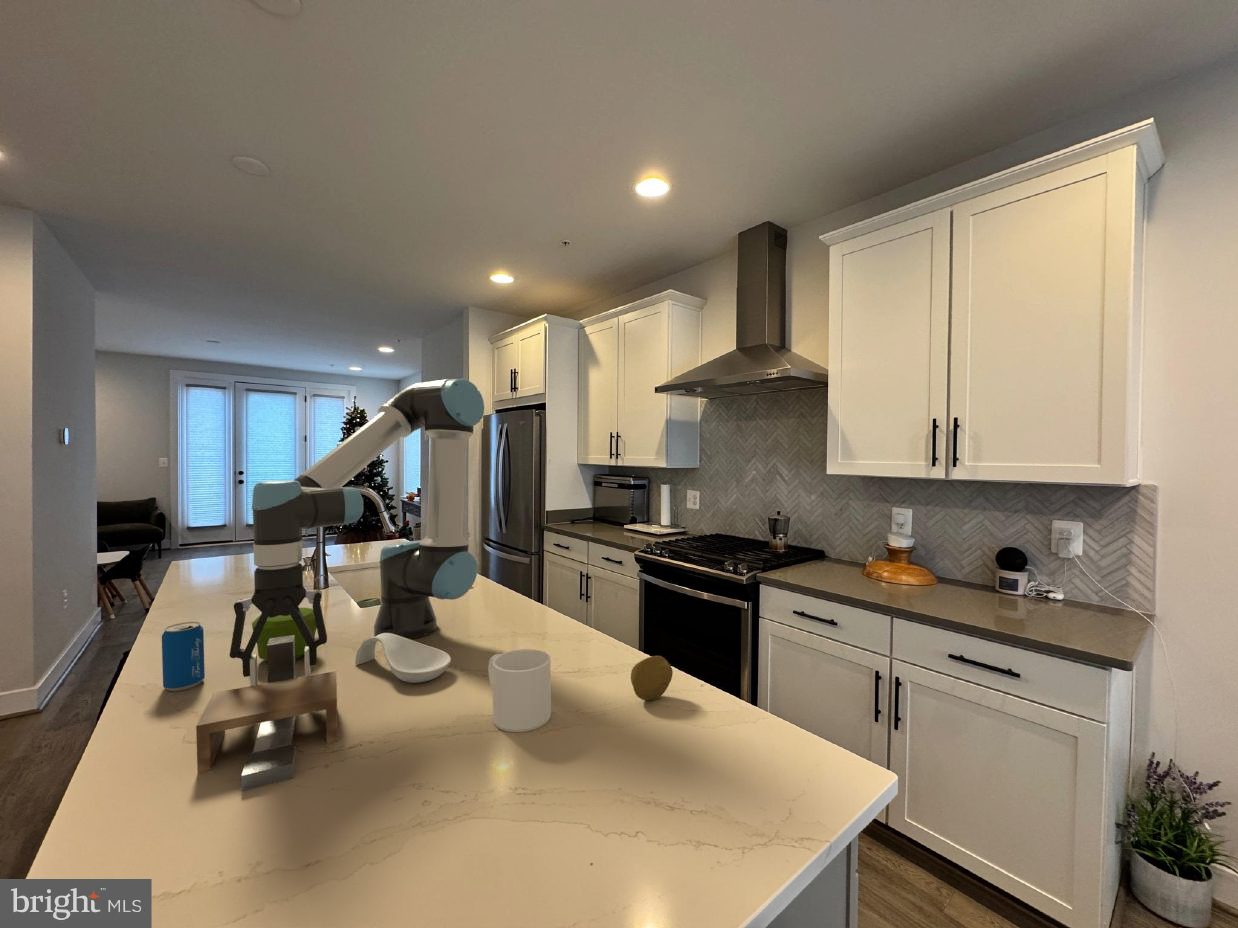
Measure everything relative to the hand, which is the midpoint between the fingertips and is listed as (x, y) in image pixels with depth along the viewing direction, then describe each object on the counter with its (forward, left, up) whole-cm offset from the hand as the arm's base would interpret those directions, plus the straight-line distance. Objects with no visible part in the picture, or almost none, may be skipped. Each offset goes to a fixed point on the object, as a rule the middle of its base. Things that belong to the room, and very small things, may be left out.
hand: (281, 687), depth 98 cm
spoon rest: (-21, -5, -4) cm, 22 cm away
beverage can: (+18, -19, -3) cm, 26 cm away
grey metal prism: (0, +8, -3) cm, 9 cm away
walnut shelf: (0, +13, -3) cm, 13 cm away
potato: (-61, +31, -3) cm, 69 cm away
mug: (-37, +25, -3) cm, 45 cm away
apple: (+1, -26, -3) cm, 26 cm away
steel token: (0, +24, -4) cm, 24 cm away
